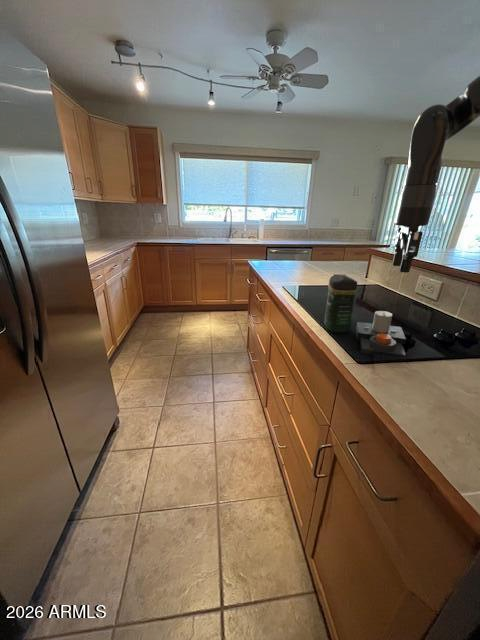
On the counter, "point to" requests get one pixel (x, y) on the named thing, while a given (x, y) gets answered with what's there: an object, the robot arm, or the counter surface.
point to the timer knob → (382, 321)
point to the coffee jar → (340, 303)
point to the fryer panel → (366, 332)
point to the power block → (381, 347)
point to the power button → (383, 338)
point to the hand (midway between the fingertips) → (400, 268)
